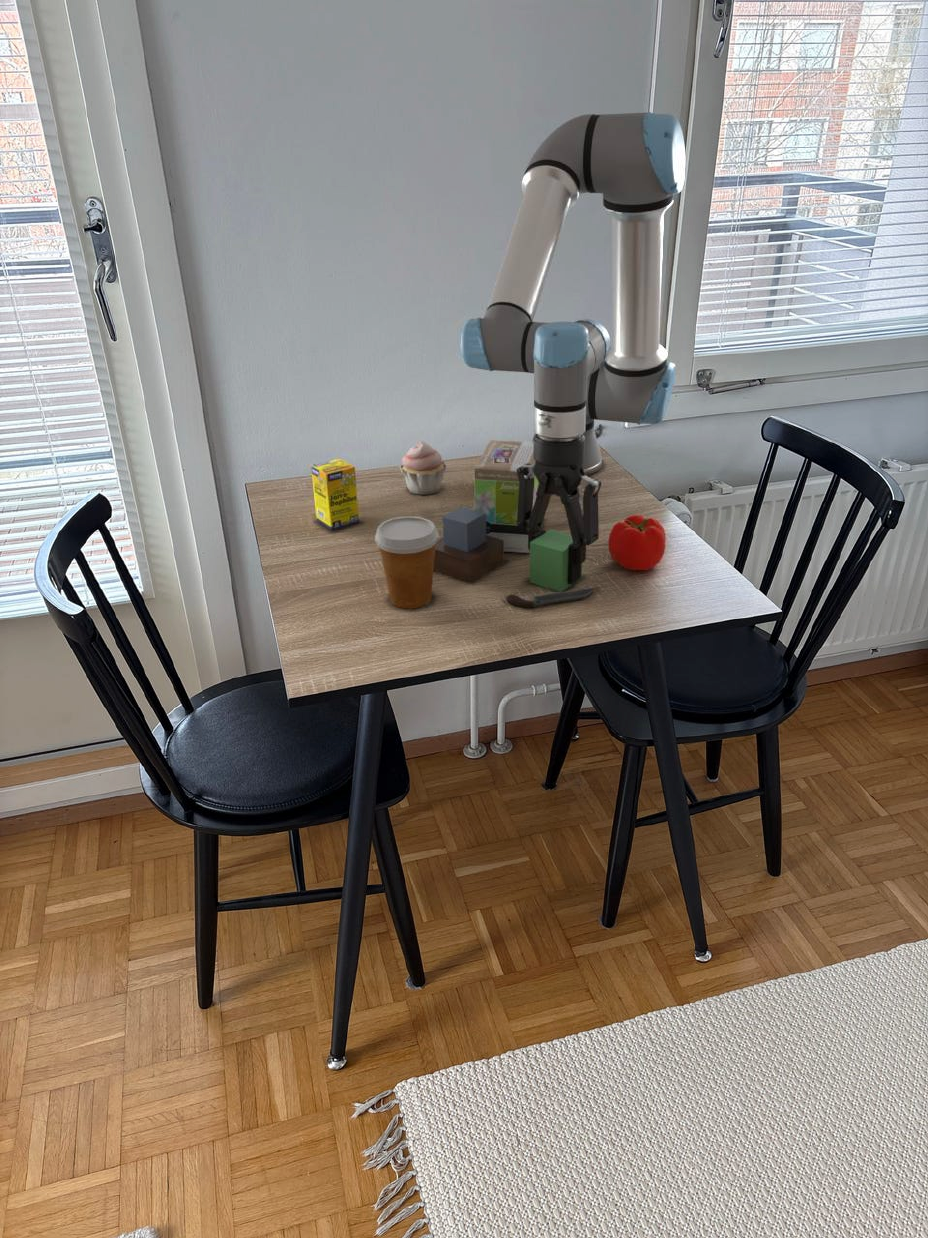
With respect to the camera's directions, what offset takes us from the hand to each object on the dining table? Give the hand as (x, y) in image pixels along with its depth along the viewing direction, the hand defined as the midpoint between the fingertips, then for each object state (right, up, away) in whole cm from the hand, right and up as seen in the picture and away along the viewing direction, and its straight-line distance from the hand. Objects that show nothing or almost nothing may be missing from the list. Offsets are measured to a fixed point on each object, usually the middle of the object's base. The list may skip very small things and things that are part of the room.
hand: (555, 575), depth 147 cm
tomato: (+14, +2, +4) cm, 15 cm away
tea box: (-7, +8, +16) cm, 19 cm away
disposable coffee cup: (-23, -4, -4) cm, 23 cm away
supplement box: (-38, +11, +23) cm, 45 cm away
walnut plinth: (-14, +2, +6) cm, 16 cm away
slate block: (-14, +5, +4) cm, 16 cm away
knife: (-1, -4, -5) cm, 6 cm away
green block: (0, -1, 0) cm, 1 cm away
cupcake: (-22, +18, +35) cm, 46 cm away
